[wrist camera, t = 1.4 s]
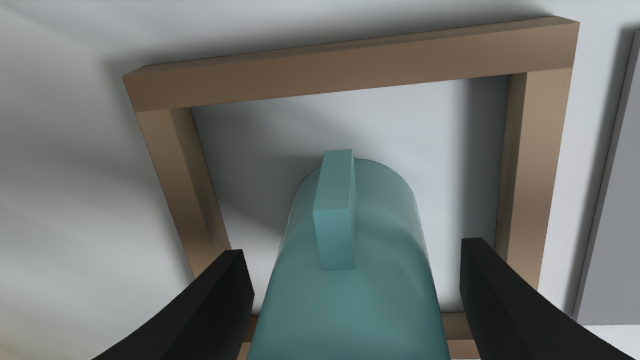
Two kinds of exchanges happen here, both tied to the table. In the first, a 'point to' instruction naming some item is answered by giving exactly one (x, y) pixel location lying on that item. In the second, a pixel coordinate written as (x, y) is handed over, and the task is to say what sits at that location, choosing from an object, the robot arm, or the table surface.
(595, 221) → the gray mat
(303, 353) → the teal jug
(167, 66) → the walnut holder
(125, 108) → the table surface
